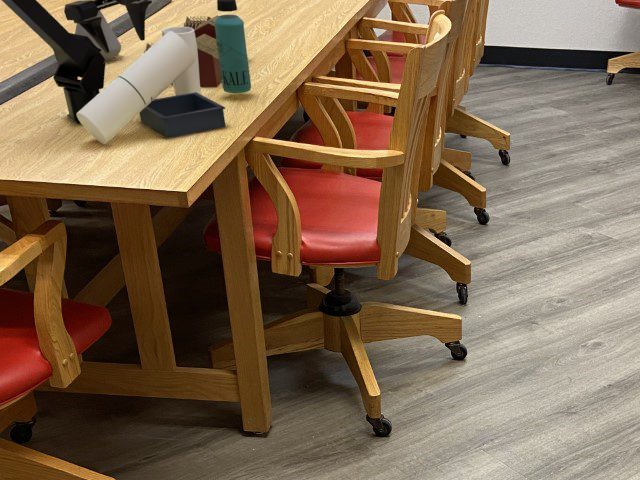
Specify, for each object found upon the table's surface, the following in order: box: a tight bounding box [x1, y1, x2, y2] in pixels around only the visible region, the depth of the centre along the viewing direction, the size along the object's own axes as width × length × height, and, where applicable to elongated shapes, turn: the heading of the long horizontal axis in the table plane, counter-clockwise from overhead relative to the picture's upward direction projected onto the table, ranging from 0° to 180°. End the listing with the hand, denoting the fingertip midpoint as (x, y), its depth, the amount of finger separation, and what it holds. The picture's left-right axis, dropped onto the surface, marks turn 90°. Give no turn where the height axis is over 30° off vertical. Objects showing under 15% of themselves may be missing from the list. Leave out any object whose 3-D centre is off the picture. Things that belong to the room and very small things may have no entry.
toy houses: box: [143, 15, 222, 88], centre depth 237 cm, size 45×20×10 cm, turn 2°
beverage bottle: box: [214, 0, 252, 94], centre depth 210 cm, size 6×7×20 cm
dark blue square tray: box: [138, 92, 226, 139], centre depth 198 cm, size 13×13×4 cm
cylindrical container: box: [76, 31, 195, 145], centre depth 189 cm, size 7×7×25 cm
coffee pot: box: [74, 0, 122, 63], centre depth 232 cm, size 21×12×15 cm, turn 12°
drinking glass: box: [161, 26, 202, 96], centre depth 207 cm, size 7×7×15 cm
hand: (125, 46), depth 201 cm, fingers open, 9 cm apart
